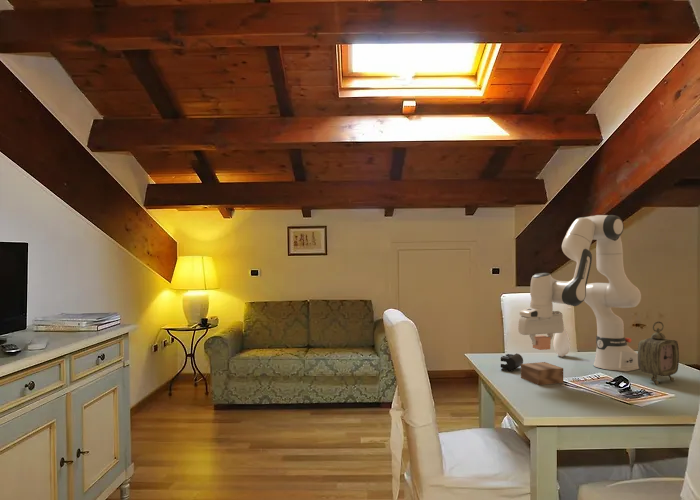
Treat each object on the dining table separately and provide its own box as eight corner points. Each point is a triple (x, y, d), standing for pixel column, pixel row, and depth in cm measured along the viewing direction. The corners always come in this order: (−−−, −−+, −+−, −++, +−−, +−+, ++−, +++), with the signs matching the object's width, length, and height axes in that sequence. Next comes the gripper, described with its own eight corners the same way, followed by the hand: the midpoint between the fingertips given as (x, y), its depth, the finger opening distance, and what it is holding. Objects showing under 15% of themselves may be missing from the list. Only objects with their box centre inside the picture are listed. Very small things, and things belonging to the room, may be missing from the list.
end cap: (515, 373, 229) (515, 358, 229) (500, 370, 233) (500, 356, 233) (523, 368, 237) (523, 354, 237) (508, 366, 241) (508, 352, 241)
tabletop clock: (657, 386, 205) (657, 324, 205) (636, 381, 213) (635, 321, 213) (679, 381, 212) (678, 321, 212) (657, 377, 220) (657, 318, 220)
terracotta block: (542, 347, 219) (542, 335, 219) (550, 349, 214) (550, 337, 214) (532, 347, 217) (532, 335, 217) (540, 349, 213) (540, 337, 213)
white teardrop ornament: (572, 358, 258) (572, 322, 257) (557, 358, 258) (556, 322, 257) (566, 354, 265) (566, 320, 265) (551, 354, 265) (550, 320, 265)
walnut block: (544, 375, 223) (544, 361, 223) (563, 382, 212) (563, 368, 212) (520, 377, 220) (520, 363, 220) (538, 385, 209) (538, 370, 208)
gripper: (557, 309, 222) (557, 341, 222) (516, 311, 216) (516, 344, 216) (567, 311, 216) (567, 344, 216) (525, 313, 210) (525, 347, 210)
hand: (541, 344), depth 216 cm, fingers closed on terracotta block, 5 cm apart
